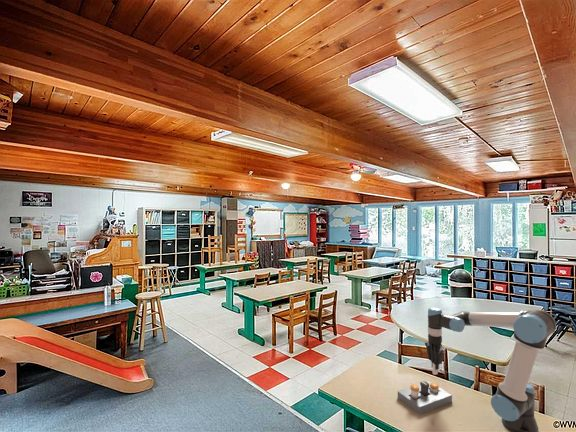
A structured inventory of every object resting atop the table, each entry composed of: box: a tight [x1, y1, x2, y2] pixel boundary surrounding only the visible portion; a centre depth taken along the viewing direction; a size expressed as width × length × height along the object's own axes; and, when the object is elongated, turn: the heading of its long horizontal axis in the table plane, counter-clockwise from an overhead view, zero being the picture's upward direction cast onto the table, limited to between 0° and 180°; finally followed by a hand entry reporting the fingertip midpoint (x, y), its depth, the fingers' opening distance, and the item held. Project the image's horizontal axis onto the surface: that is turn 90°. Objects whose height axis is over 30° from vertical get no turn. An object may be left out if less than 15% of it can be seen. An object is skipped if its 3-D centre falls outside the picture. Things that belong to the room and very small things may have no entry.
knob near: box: [409, 384, 419, 400], centre depth 175 cm, size 5×5×7 cm
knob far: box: [430, 382, 440, 393], centre depth 182 cm, size 5×5×7 cm
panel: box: [397, 380, 453, 415], centre depth 178 cm, size 16×26×4 cm, turn 115°
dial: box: [419, 380, 429, 396], centre depth 178 cm, size 5×5×7 cm
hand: (435, 373), depth 181 cm, fingers closed
